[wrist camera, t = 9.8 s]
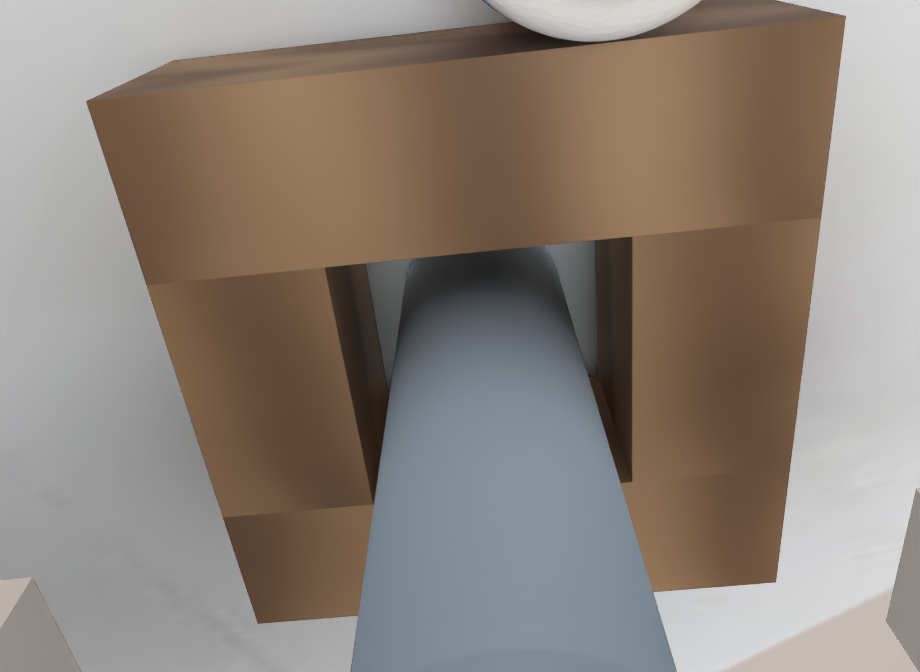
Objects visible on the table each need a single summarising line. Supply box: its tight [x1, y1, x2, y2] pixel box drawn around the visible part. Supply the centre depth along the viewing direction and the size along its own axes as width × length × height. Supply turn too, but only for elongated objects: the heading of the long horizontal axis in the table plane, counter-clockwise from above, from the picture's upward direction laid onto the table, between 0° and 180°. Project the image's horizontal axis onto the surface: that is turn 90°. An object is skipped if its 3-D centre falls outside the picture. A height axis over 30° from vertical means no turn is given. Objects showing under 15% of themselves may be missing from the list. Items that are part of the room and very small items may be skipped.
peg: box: [351, 246, 677, 672], centre depth 16 cm, size 4×4×14 cm
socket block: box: [86, 0, 846, 624], centre depth 19 cm, size 14×14×5 cm
